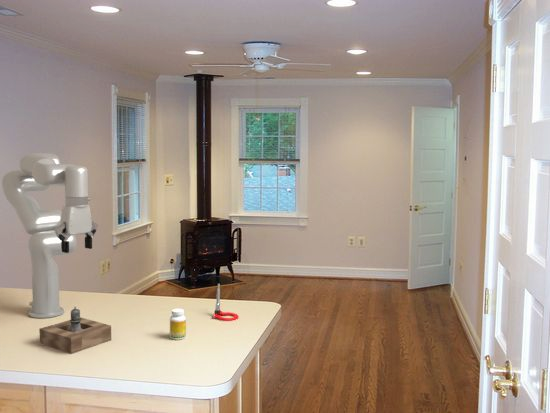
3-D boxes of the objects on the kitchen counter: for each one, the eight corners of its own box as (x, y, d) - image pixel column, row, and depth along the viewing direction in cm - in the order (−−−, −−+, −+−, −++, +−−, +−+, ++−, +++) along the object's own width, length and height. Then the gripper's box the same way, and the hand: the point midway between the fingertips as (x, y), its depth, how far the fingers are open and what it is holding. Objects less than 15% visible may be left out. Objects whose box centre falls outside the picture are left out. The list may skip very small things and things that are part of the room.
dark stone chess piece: (79, 345, 195) (78, 309, 194) (62, 343, 196) (62, 308, 195) (88, 339, 201) (87, 304, 199) (72, 338, 202) (71, 303, 200)
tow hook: (241, 317, 231) (219, 313, 233) (243, 284, 229) (221, 281, 232) (233, 323, 223) (210, 319, 226) (234, 289, 221) (212, 286, 224)
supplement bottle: (167, 336, 205) (167, 309, 204) (182, 334, 208) (183, 307, 207) (172, 341, 201) (172, 313, 200) (187, 339, 203) (187, 311, 202)
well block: (39, 343, 196) (39, 328, 195) (79, 331, 209) (79, 317, 209) (71, 353, 187) (71, 338, 187) (111, 340, 200) (111, 325, 200)
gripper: (89, 198, 216) (90, 245, 218) (48, 202, 202) (49, 252, 204) (103, 200, 212) (104, 248, 214) (62, 204, 198) (63, 255, 200)
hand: (77, 250), depth 209 cm, fingers open, 9 cm apart
